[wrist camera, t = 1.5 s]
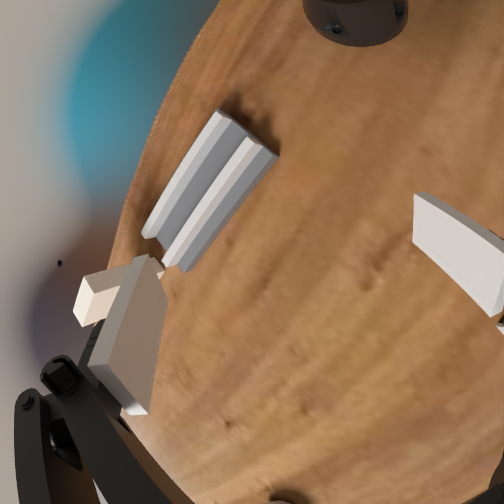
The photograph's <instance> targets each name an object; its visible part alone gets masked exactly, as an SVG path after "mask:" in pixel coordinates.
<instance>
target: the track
mask: <svg viewBox="0 0 504 504" xmlns="http://www.w3.org/2000/svg"><path fill="white" fill-rule="evenodd" d="M278 158H279V156H278V155H277V154H276V153H274V152H273V151H272V150H271V149H270V148H269V147H268V146H266V145H265V144H264V143H263V142H262V141H261V140H259V139H258V138H257V137H256V136H255V135H253V134H252V133H251V132H250V131H249V130H247V129H246V128H245V127H244V126H243V125H241V124H240V123H239V122H238V121H236V120H235V119H234V118H233V117H232V116H230V115H229V114H228V113H227V112H225V111H223V110H221V109H218V108H217V109H216V111H215V112H214V113H213V115H212V116H211V118H210V119H209V121H208V122H207V123H206V125H205V126H204V128H203V129H202V131H201V132H200V134H199V135H198V137H197V138H196V140H195V141H194V143H193V144H192V146H191V147H190V149H189V150H188V152H187V154H186V155H185V157H184V158H183V160H182V161H181V163H180V165H179V166H178V168H177V169H176V171H175V173H174V174H173V176H172V178H171V179H170V181H169V183H168V184H167V186H166V188H165V189H164V191H163V193H162V194H161V196H160V198H159V200H158V201H157V203H156V205H155V207H154V208H153V210H152V212H151V214H150V216H149V217H148V219H147V221H146V223H145V226H144V228H143V229H142V231H141V234H142V235H143V237H144V238H145V239H148V238H153V237H156V238H157V240H158V241H159V242H160V243H161V245H162V246H163V247H164V249H165V250H166V251H167V253H166V254H165V256H164V257H163V259H162V262H163V263H164V265H165V266H166V267H170V266H173V265H176V264H177V265H178V266H179V268H180V269H181V270H182V271H183V272H184V273H186V272H188V271H191V270H192V269H193V268H194V266H195V265H196V264H197V262H198V261H199V260H200V258H201V257H202V256H203V254H204V253H205V252H206V250H207V249H208V248H209V246H210V245H211V244H212V242H213V241H214V240H215V238H216V237H217V236H218V234H219V233H220V232H221V230H222V229H223V228H224V226H225V225H226V224H227V223H228V221H229V220H230V219H231V217H232V216H233V215H234V213H235V212H236V211H237V210H238V208H239V207H240V206H241V204H242V203H243V202H244V201H245V199H246V198H247V197H248V195H249V194H250V193H251V192H252V190H253V189H254V188H255V187H256V185H257V184H258V183H259V181H260V180H261V179H262V178H263V176H264V175H265V174H266V173H267V171H268V170H269V169H270V168H271V166H272V165H273V164H274V163H275V161H276V160H277V159H278Z"/></svg>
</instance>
